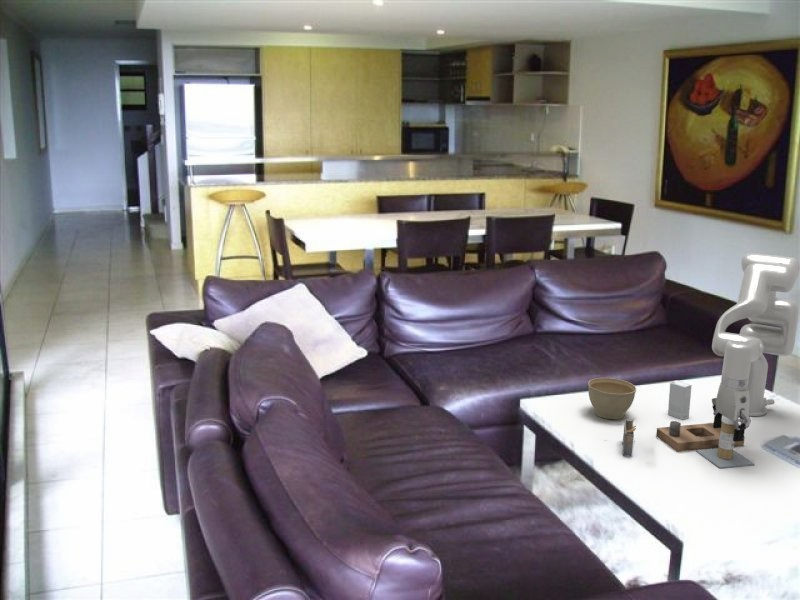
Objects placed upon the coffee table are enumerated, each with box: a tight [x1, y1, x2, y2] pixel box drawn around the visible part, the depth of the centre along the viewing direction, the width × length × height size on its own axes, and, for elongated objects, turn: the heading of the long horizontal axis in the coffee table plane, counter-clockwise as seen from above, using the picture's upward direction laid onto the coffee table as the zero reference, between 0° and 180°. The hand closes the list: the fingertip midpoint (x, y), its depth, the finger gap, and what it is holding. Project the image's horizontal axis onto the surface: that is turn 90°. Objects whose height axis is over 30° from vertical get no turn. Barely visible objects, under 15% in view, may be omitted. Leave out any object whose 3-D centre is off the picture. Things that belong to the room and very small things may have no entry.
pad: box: [695, 448, 755, 470], centre depth 243 cm, size 12×12×1 cm
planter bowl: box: [587, 377, 637, 420], centre depth 274 cm, size 16×16×11 cm
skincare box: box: [667, 380, 692, 420], centre depth 274 cm, size 6×4×12 cm
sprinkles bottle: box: [717, 415, 739, 459], centre depth 242 cm, size 5×5×14 cm
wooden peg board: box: [656, 420, 746, 453], centre depth 255 cm, size 24×12×8 cm, turn 104°
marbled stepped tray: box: [622, 419, 637, 457], centre depth 248 cm, size 11×3×10 cm, turn 165°
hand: (727, 434), depth 242 cm, fingers open, 9 cm apart
